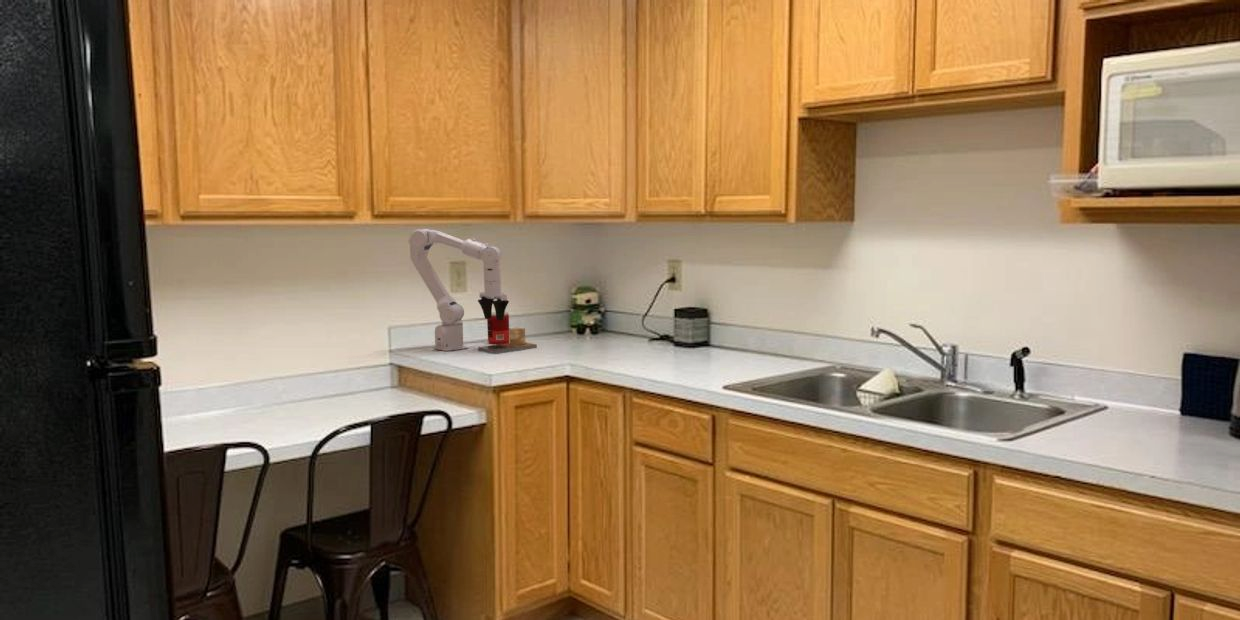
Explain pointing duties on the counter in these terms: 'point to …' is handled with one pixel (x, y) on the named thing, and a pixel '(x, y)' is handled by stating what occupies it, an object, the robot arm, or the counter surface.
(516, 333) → the birch peg
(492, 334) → the canned food
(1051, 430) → the counter surface
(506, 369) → the counter surface
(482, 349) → the rail plate
